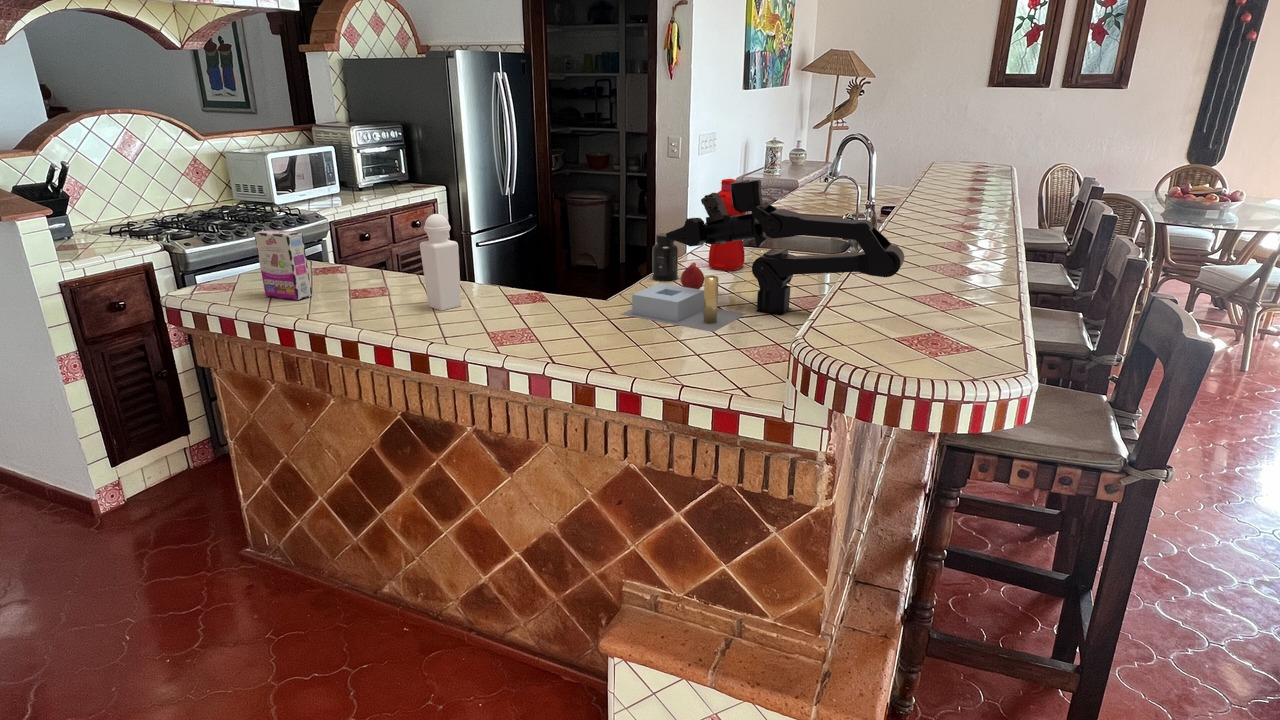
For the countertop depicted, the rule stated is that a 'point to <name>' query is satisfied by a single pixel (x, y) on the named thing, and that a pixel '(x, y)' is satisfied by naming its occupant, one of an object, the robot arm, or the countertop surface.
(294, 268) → the candy bar box
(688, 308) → the socket block
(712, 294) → the brass pin
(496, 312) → the countertop surface
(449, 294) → the square decanter bottle
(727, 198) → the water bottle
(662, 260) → the supplement bottle
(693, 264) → the onion
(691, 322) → the rubber mat
